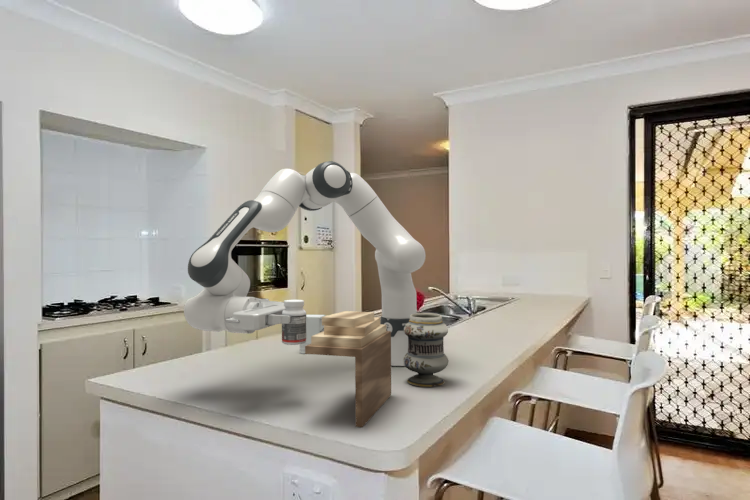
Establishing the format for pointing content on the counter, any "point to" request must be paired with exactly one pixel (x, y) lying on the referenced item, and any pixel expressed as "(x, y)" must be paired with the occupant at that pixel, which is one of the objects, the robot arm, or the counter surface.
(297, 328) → the pill bottle
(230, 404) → the counter surface
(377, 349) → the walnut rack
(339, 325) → the offcut stack
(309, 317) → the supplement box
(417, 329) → the apothecary jar
